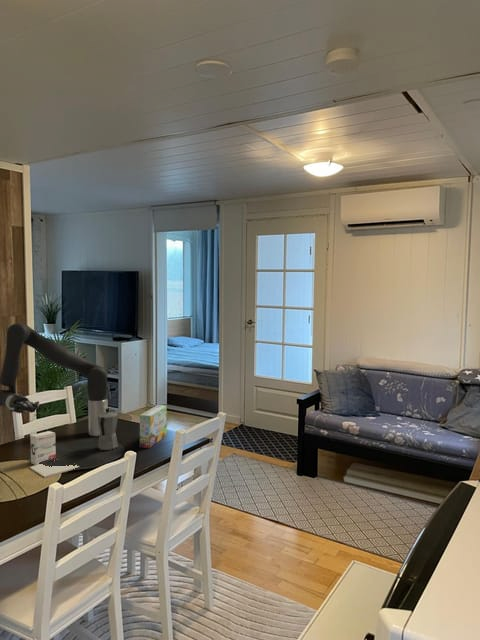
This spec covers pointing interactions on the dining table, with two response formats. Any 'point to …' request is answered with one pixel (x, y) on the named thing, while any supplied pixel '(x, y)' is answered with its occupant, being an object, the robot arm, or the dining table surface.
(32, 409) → the robot arm
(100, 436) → the coffeepot
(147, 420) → the snack box
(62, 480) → the dining table surface
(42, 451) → the ink box
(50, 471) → the mat
